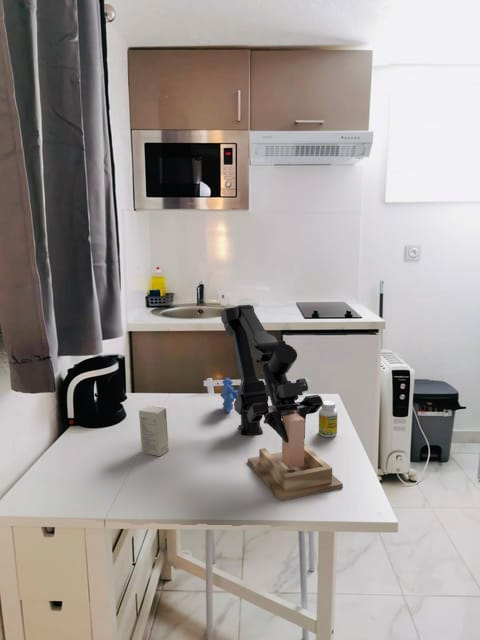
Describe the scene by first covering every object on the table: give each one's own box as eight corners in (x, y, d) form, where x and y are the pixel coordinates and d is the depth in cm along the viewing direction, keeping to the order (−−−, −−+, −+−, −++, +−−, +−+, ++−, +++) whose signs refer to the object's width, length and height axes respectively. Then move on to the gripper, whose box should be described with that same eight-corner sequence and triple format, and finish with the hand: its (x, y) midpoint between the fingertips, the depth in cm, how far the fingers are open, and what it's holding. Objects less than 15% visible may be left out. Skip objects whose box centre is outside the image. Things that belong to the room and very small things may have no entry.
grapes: (242, 418, 158) (242, 382, 156) (221, 418, 158) (220, 382, 155) (239, 405, 170) (239, 371, 167) (219, 406, 169) (219, 372, 167)
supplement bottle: (328, 428, 149) (328, 398, 148) (340, 434, 145) (341, 403, 143) (314, 432, 147) (315, 401, 145) (327, 439, 142) (328, 407, 140)
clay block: (282, 461, 123) (282, 415, 121) (296, 458, 124) (297, 413, 122) (289, 468, 119) (289, 421, 117) (303, 465, 121) (304, 419, 118)
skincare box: (169, 450, 136) (167, 408, 133) (160, 457, 132) (158, 413, 130) (149, 446, 138) (147, 404, 136) (140, 452, 134) (138, 409, 132)
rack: (247, 461, 129) (247, 445, 128) (303, 451, 134) (303, 436, 133) (280, 500, 110) (280, 482, 109) (342, 487, 116) (343, 469, 115)
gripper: (251, 371, 118) (269, 433, 110) (320, 363, 124) (342, 421, 116) (240, 393, 127) (256, 451, 119) (305, 384, 133) (325, 439, 125)
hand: (295, 440), depth 119 cm, fingers closed on clay block, 4 cm apart
